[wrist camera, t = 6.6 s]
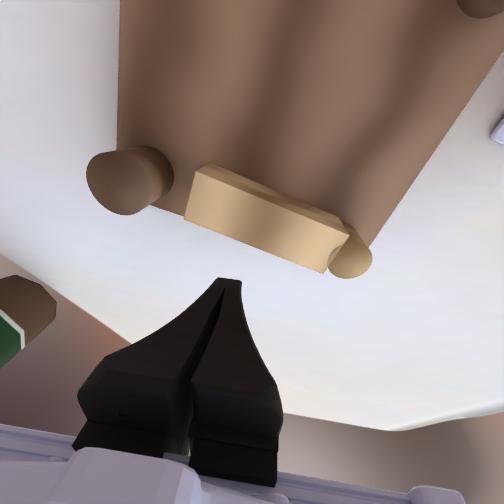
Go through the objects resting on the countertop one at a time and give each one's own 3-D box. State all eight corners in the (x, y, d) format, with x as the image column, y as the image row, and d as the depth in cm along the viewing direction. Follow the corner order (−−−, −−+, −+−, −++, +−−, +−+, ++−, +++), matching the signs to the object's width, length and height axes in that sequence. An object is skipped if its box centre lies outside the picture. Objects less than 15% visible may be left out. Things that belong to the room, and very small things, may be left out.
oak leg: (366, 228, 17) (383, 249, 15) (343, 262, 19) (354, 286, 16) (209, 162, 16) (195, 171, 13) (198, 203, 18) (183, 219, 15)
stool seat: (543, -57, 12) (787, -220, 6) (343, 258, 22) (366, 306, 16) (159, -244, 10) (16, -684, 5) (133, 185, 20) (76, 210, 15)
